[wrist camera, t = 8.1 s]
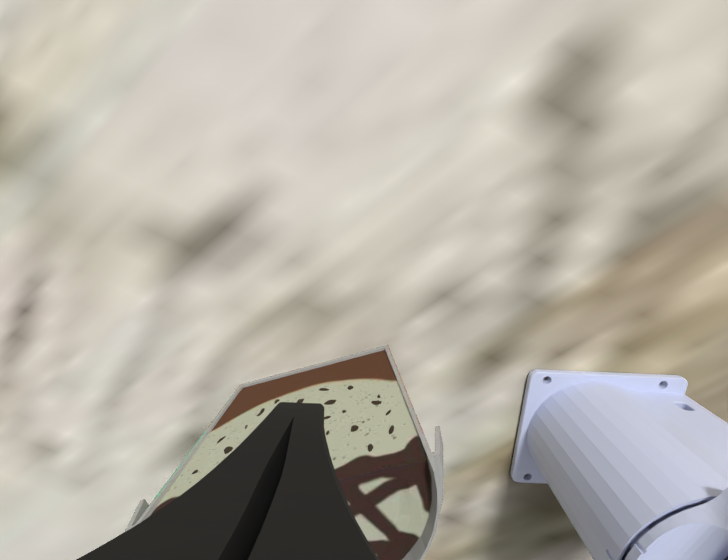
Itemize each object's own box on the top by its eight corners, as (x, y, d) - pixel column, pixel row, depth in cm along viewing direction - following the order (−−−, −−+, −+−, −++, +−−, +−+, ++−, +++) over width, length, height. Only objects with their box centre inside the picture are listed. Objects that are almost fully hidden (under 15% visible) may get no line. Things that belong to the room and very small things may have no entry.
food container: (253, 470, 24) (177, 666, 14) (217, 390, 22) (105, 550, 13) (436, 424, 23) (489, 601, 13) (412, 338, 21) (451, 466, 12)
